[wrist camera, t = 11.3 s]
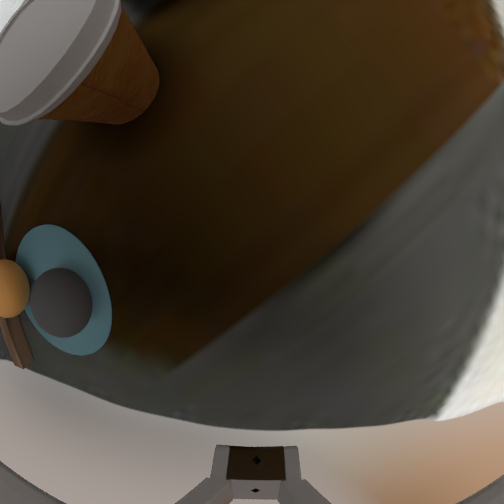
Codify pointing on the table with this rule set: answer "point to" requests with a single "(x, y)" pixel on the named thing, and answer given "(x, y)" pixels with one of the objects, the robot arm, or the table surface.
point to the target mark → (81, 262)
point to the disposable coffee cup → (74, 64)
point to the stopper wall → (14, 328)
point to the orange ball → (12, 289)
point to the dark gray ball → (61, 302)
